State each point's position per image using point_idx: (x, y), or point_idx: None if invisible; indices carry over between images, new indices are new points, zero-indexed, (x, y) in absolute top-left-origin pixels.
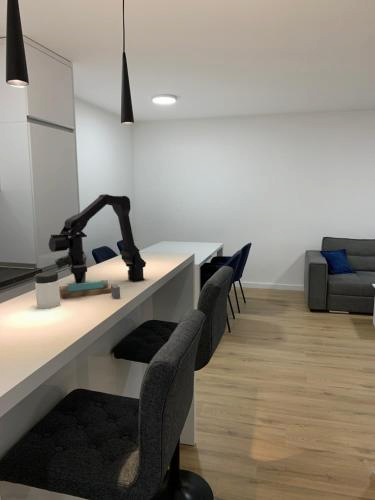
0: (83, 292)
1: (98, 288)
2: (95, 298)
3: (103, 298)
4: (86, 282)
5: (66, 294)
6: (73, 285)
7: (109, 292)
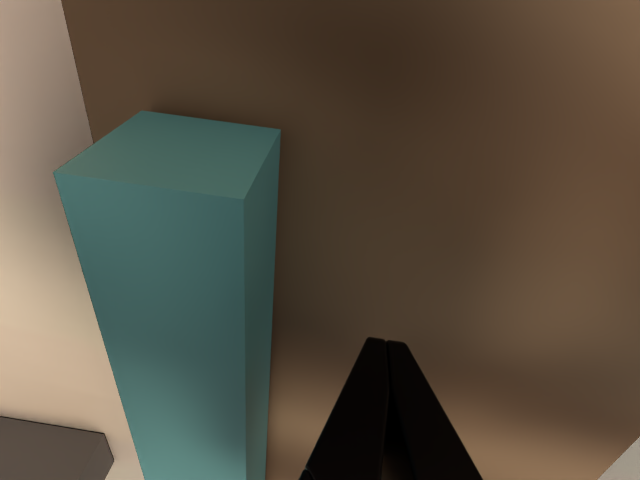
0: None
1: None
2: (28, 326)
3: (13, 370)
4: (230, 478)
5: (81, 32)
6: (95, 283)
7: None
